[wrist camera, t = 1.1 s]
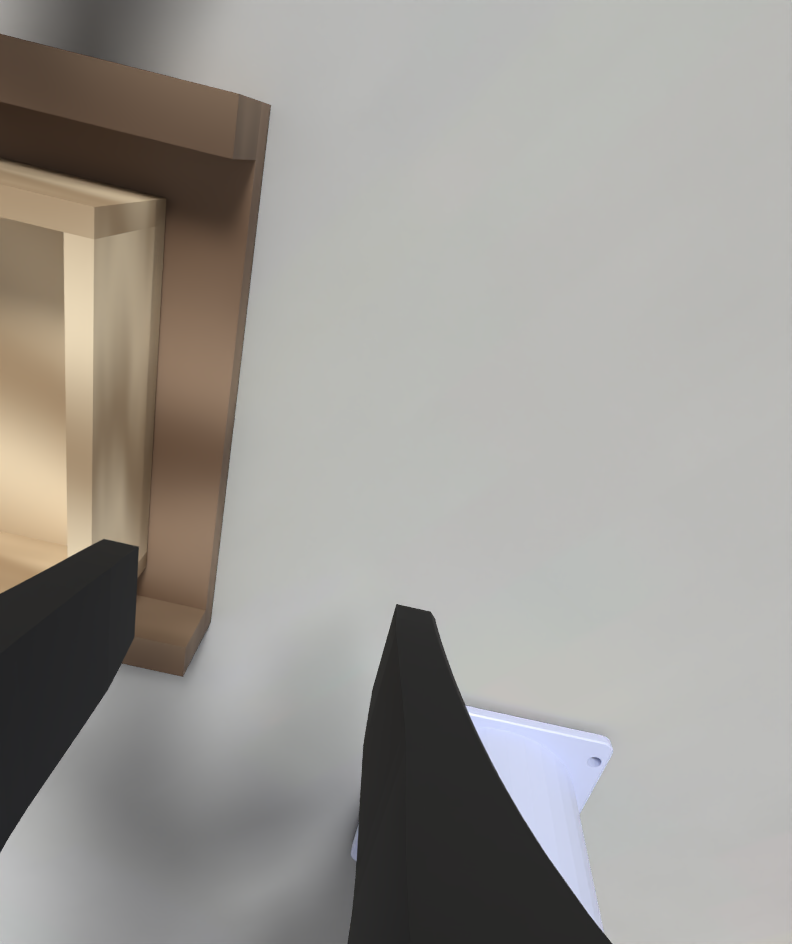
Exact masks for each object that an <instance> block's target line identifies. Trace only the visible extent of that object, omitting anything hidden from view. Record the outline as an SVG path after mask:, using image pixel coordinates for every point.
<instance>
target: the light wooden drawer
mask: <svg viewBox="0 0 792 944" xmlns="http://www.w3.org/2000/svg"><path fill="white" fill-rule="evenodd" d="M165 216H166V198H162V197H158V196H154V195H150V194H146V193H142V192H138V191H134V190H130V189H126V188H122V187H117V186H113V185H109V184H105V183H101V182H97V181H93V180H89V179H85V178H81V177H77V176H72V175H68V174H64V173H60V172H56V171H52V170H48V169H44V168H40V167H36V166H32V165H27V164H23V163H19V162H15V161H11V160H7V159H3V158H0V594H1V593H2V592H4V591H6V590H8V589H10V588H12V587H14V586H16V585H18V584H20V583H22V582H23V581H25V580H27V579H29V578H31V577H33V576H35V575H37V574H39V573H41V572H42V571H44V570H46V569H48V568H50V567H52V566H54V565H55V564H57V563H59V562H61V561H63V560H65V559H66V558H68V557H70V556H72V555H74V554H76V553H78V552H79V551H81V550H83V549H85V548H87V547H89V546H91V545H93V544H95V543H97V542H99V541H101V540H103V539H107V540H112V541H116V542H121V543H125V544H129V545H134V546H138V547H139V555H138V576H137V578H138V577H139V576H140V574H141V573H142V572H143V570H144V569H145V568H146V560H147V541H148V523H149V505H150V487H151V469H152V451H153V433H154V415H155V397H156V379H157V361H158V342H159V324H160V306H161V288H162V270H163V252H164V234H165Z"/></svg>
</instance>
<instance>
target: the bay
mask: <svg viewBox="0 0 792 944" xmlns="http://www.w3.org/2000/svg"><path fill="white" fill-rule="evenodd" d="M270 107H271V105H269V104H266V103H263V102H260V101H258V100H255V99H252V98H249V97H246V96H243V95H240V94H237V93H233V92H229V91H225V90H221V89H217V88H213V87H209V86H205V85H201V84H197V83H193V82H189V81H185V80H181V79H177V78H173V77H169V76H166V75H162V74H158V73H154V72H150V71H146V70H142V69H138V68H134V67H130V66H126V65H122V64H118V63H114V62H110V61H106V60H102V59H98V58H94V57H90V56H86V55H82V54H78V53H74V52H70V51H66V50H62V49H58V48H54V47H50V46H46V45H42V44H38V43H34V42H30V41H26V40H22V39H19V38H15V37H11V36H7V35H3V34H0V158H3V159H7V160H11V161H15V162H19V163H23V164H27V165H32V166H36V167H40V168H44V169H48V170H52V171H56V172H60V173H64V174H68V175H72V176H77V177H81V178H85V179H89V180H93V181H97V182H101V183H105V184H109V185H113V186H117V187H122V188H126V189H130V190H134V191H138V192H142V193H146V194H150V195H154V196H158V197H162V198H166V216H165V234H164V252H163V270H162V288H161V306H160V324H159V342H158V361H157V379H156V397H155V415H154V433H153V451H152V469H151V487H150V505H149V523H148V541H147V560H146V568H145V569H144V570H143V572H142V573H141V574H140V576H139V577H138V578H137V597H136V617H135V637H134V639H133V641H132V644H131V646H130V648H129V650H128V652H127V654H126V656H125V658H124V660H123V662H122V664H127V665H132V666H136V667H141V668H145V669H150V670H155V671H159V672H164V673H169V674H173V675H178V676H182V677H183V676H184V674H185V672H186V670H187V668H188V666H189V664H190V662H191V660H192V658H193V656H194V654H195V652H196V650H197V648H198V646H199V644H200V642H201V640H202V638H203V636H204V634H205V632H206V630H207V628H208V626H209V624H210V622H211V614H212V605H213V597H214V588H215V580H216V571H217V563H218V554H219V545H220V537H221V528H222V520H223V511H224V502H225V494H226V485H227V477H228V468H229V459H230V451H231V442H232V434H233V425H234V417H235V408H236V399H237V391H238V382H239V374H240V365H241V356H242V348H243V339H244V331H245V322H246V314H247V305H248V296H249V288H250V279H251V271H252V262H253V253H254V245H255V236H256V228H257V219H258V210H259V202H260V193H261V185H262V176H263V168H264V159H265V150H266V142H267V133H268V125H269V116H270Z"/></svg>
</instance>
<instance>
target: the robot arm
mask: <svg viewBox="0 0 792 944" xmlns="http://www.w3.org/2000/svg"><path fill="white" fill-rule="evenodd" d="M138 555H139V547H138V546H134V545H129V544H125V543H121V542H116V541H112V540H107V539H103V540H101V541H99V542H97V543H95V544H93V545H91V546H89V547H87V548H85V549H83V550H81V551H79V552H78V553H76V554H74V555H72V556H70V557H68V558H66V559H65V560H63V561H61V562H59V563H57V564H55V565H54V566H52V567H50V568H48V569H46V570H44V571H42V572H41V573H39V574H37V575H35V576H33V577H31V578H29V579H27V580H25V581H23V582H22V583H20V584H18V585H16V586H14V587H12V588H10V589H8V590H6V591H4V592H2V593H1V594H0V852H1V850H2V849H3V847H4V845H5V843H6V841H7V840H8V838H9V836H10V835H11V833H12V832H13V830H14V829H15V827H16V825H17V824H18V822H19V821H20V819H21V817H22V816H23V814H24V813H25V811H26V809H27V808H28V807H29V805H30V804H31V802H32V801H33V799H34V798H35V796H36V795H37V793H38V792H39V790H40V789H41V788H42V786H43V785H44V783H45V782H46V780H47V779H48V777H49V776H50V774H51V773H52V771H53V770H54V768H55V767H56V766H57V764H58V763H59V761H60V760H61V758H62V757H63V755H64V754H65V752H66V751H67V749H68V748H69V747H70V745H71V744H72V742H73V741H74V739H75V738H76V736H77V735H78V733H79V732H80V730H81V729H82V727H83V726H84V724H85V723H86V722H87V720H88V719H89V717H90V716H91V714H92V713H93V711H94V710H95V708H96V707H97V705H98V704H99V702H100V701H101V699H102V698H103V696H104V695H105V693H106V692H107V690H108V688H109V686H110V685H111V683H112V681H113V679H114V677H115V675H116V673H117V671H118V669H119V667H120V666H121V664H122V662H123V660H124V658H125V656H126V654H127V652H128V650H129V648H130V646H131V644H132V641H133V639H134V637H135V617H136V597H137V576H138ZM612 753H613V749H612V745H611V742H610V740H609V739H608V738H607V737H605V736H602V735H598V734H593V733H589V732H584V731H580V730H575V729H570V728H566V727H561V726H557V725H552V724H548V723H543V722H538V721H534V720H529V719H525V718H520V717H515V716H511V715H506V714H502V713H497V712H493V711H488V710H483V709H479V708H474V707H470V706H465V703H464V701H463V698H462V696H461V694H460V691H459V689H458V687H457V684H456V681H455V679H454V676H453V674H452V671H451V668H450V665H449V663H448V660H447V657H446V654H445V651H444V648H443V645H442V642H441V639H440V635H439V632H438V628H437V625H436V621H435V618H434V616H433V615H432V613H431V612H429V611H425V610H420V609H416V608H411V607H407V606H402V605H398V604H396V608H395V611H394V615H393V618H392V622H391V626H390V629H389V633H388V636H387V640H386V643H385V647H384V651H383V654H382V658H381V661H380V665H379V668H378V672H377V675H376V679H375V683H374V686H373V690H372V696H371V702H370V708H369V714H368V720H367V726H366V732H365V738H364V745H363V760H362V777H361V793H360V811H359V824H358V827H357V831H356V834H355V837H354V840H353V844H352V848H351V857H352V858H353V859H354V860H355V861H356V879H355V889H354V900H353V910H352V917H351V924H350V931H349V938H348V944H612V943H611V942H610V940H609V939H608V938H607V937H606V935H605V934H604V929H603V925H602V920H601V915H600V910H599V906H598V901H597V896H596V891H595V886H594V882H593V877H592V872H591V867H590V863H589V858H588V853H587V848H586V844H585V839H584V834H583V829H582V825H581V820H580V815H579V814H580V813H581V811H582V809H583V807H584V805H585V803H586V802H587V800H588V798H589V796H590V794H591V792H592V791H593V789H594V787H595V785H596V783H597V781H598V780H599V778H600V776H601V774H602V772H603V770H604V769H605V767H606V765H607V763H608V761H609V759H610V758H611V756H612ZM592 757H595V758H592Z"/></svg>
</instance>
